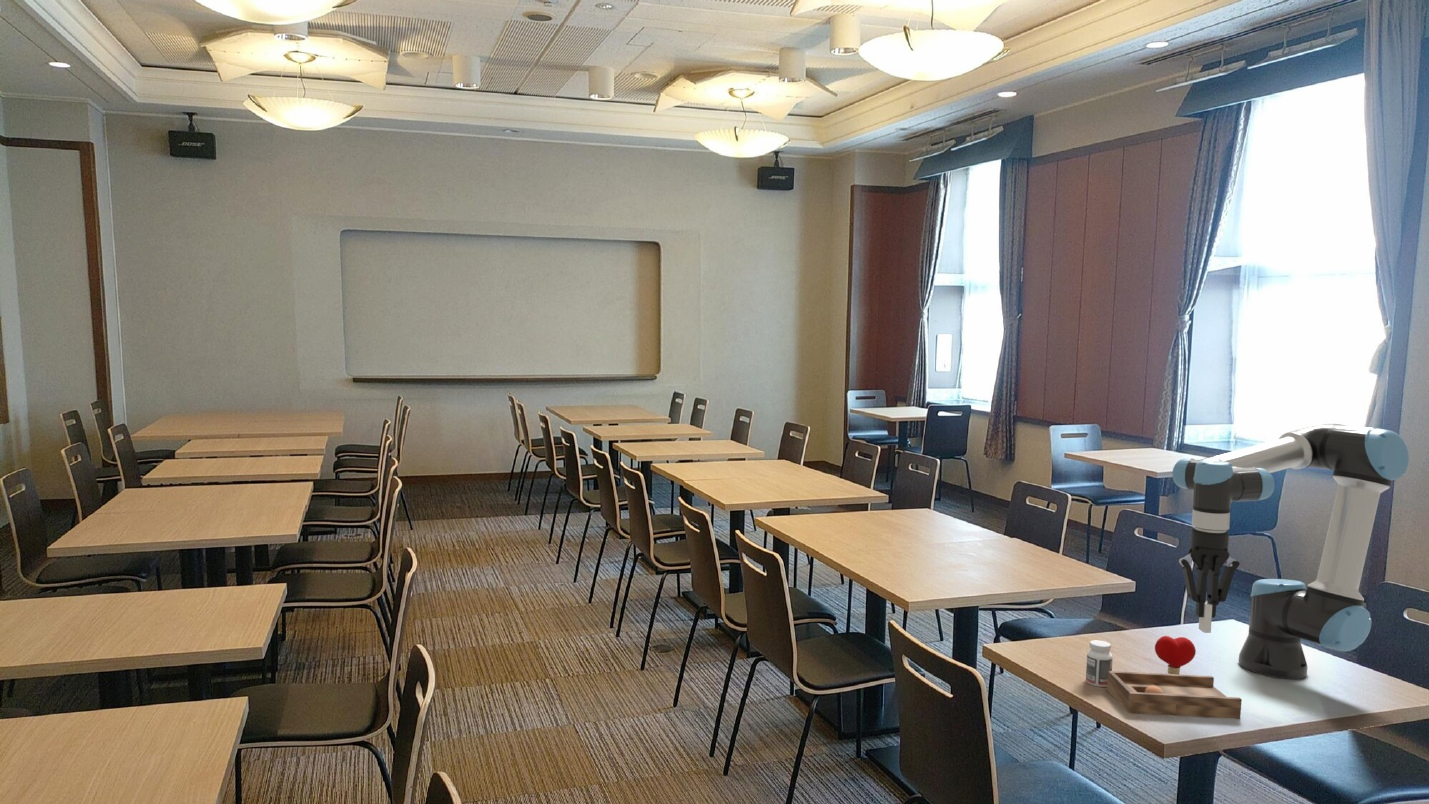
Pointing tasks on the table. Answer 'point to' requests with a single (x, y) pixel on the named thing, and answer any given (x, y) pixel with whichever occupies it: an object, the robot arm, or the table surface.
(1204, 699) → the lane
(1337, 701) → the table surface
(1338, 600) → the robot arm
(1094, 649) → the pill bottle
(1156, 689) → the ball
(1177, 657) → the red heart-shaped lump
